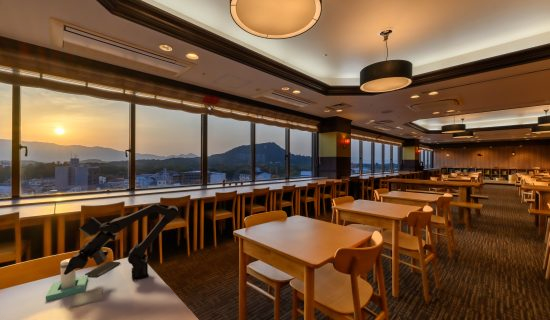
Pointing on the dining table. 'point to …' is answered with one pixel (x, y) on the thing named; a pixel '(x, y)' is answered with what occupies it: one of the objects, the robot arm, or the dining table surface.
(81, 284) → the green square frame
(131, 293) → the dining table surface
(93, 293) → the beige square plate
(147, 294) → the dining table surface
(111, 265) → the phone
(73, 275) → the white capped cylinder
